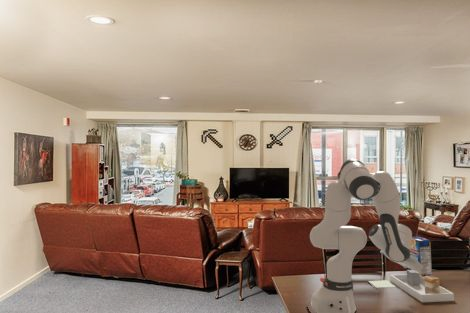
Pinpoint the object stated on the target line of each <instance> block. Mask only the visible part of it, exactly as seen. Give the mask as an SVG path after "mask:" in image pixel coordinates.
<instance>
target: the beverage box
mask: <svg viewBox="0 0 470 313" xmlns="http://www.w3.org/2000/svg"><path fill="white" fill-rule="evenodd" d="M431 252H432V248H431V239H428V238H424V237H420V236H418V235H417V236H412V238H411V247H410V256H412V257H414V258H415V259H416V260H417V261H418V262H419V263H420V264H422V266H423V268H422V269H421V271H422V273H421V274H419V275H421V276H422V277H424V276H433V272H432V270H433V269H432V268H433V267H432V253H431ZM408 270H412V269H410V268H408Z"/></svg>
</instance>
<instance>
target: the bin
mask: <svg viewBox="0 0 470 313" xmlns="http://www.w3.org/2000/svg"><path fill="white" fill-rule="evenodd" d="M389 282H390V283H392V284H393V285H395V286H396V287H398V288H400V289H401V290H402V291H404V292H405V293H407V295H410V296H412V297H413V298H415V299H416V300H417V301H419V302H420V303H439V302H440V303H441V302H455V294H454V293H455V292H453V291H451V290H448V289H447V288H444V287H443V286H440V285H439V286H440V293H434V294H425V280H424V277H422V276H421V275H420V285H419V286H411V285H410V284H408V283H407V273H401V274H389Z"/></svg>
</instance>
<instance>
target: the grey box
mask: <svg viewBox="0 0 470 313" xmlns="http://www.w3.org/2000/svg"><path fill="white" fill-rule="evenodd" d="M406 274H407V283H408V284H410V285H411V286H419V285H420V275H419V274H418V273H417V272H416V271H415V270H409V269H407V270H406Z"/></svg>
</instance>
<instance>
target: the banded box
mask: <svg viewBox="0 0 470 313" xmlns="http://www.w3.org/2000/svg"><path fill="white" fill-rule="evenodd" d="M424 280H425V294H434V293H440V278H439V277H436V276H434V275H432V276H424Z"/></svg>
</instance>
